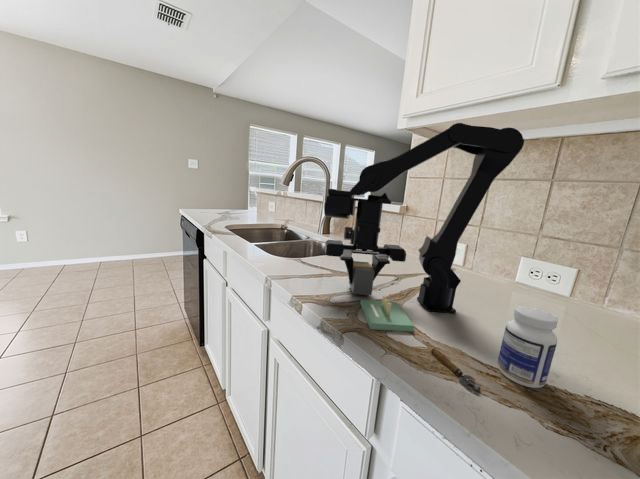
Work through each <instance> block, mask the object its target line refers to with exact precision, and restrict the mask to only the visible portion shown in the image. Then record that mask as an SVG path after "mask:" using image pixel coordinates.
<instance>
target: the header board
mask: <svg viewBox="0 0 640 479" xmlns="http://www.w3.org/2000/svg"><path fill="white" fill-rule="evenodd" d="M387 297H388V296H386V295H383V296H382V299H381V300H374V299H373V300H370V299H360V308H361V309H362V312H363V313H364V314H363V315H364V316H365V319H366V321H367V323H368V326H369V329H370V330H379V331H380V330H381V331H391V332H392V331H394V332H410V333H411V332H412V333H414V331H415V325H414V323H413V322H412V320H411V319H410V318H409V317H408V316H407V314H406V312H405V311H404V310H403V309H402V307H401V306H400V304H399V303H398V302H397V301H390V299H389V298H388V299H387Z"/></svg>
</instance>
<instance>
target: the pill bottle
mask: <svg viewBox="0 0 640 479" xmlns="http://www.w3.org/2000/svg"><path fill="white" fill-rule="evenodd" d="M512 315H513V317H514V318H512V319H510V320H509V321H507V323H506V324H505V329H504V333H503V337H502V341H501V344H500V351H499V354H498V358H497V361H496V362H497V363H496V365H497V368H498V370H499V371H500V373H502V375H503V376H504V377H506V378H508V379H509V380H510V381H512V382H514V383H516V384H518V385H521V386H524V387H527V388H532V389H540V388H543V387H544V386H545V385H546V383H547V381H548V376H549V373H550V370H551V366H552V363H553V360H554V359H553V358H554V355H555V353H556V348H557V344H558V337H557V335H556V334H555V332H554V330H556V329H557V326H558V322H559V319H558V317H557V316H555V315H554V314H552V313H550V312H548V311H545V310H542V309H539V308H535V307H531V306H526V305H519V306H515V308H514V309H513V314H512Z"/></svg>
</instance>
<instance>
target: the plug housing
mask: <svg viewBox="0 0 640 479" xmlns="http://www.w3.org/2000/svg"><path fill="white" fill-rule="evenodd" d="M374 272H375V271H374V269H373V267H372V263H370V262H369V261H356V260H353V280H352V284H350V282H349V281H348V285H349V287H350V290H351V293H352V295H365V296H372V294H373V293H372V292H373V286H374V281H375V279H374ZM373 280H374V281H373Z"/></svg>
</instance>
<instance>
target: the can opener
mask: <svg viewBox="0 0 640 479" xmlns="http://www.w3.org/2000/svg"><path fill="white" fill-rule="evenodd" d="M430 353H431V354H432V355H433V356H434V357H435V358H436V359H437V360H439V362H441V363H442V365H445V366H446V367H447V368H448V369H449V370H450V371H451V372H452V373H454V374H455V375H456V376H458V377H459V383H460V384H461V386H462V387H463V388H465V389H466V390H467V391H468V392H470V393H471V394H474V395H476V396H478V397H480V394H478V393H479V392H482V389H481V386H480V385H478V384H477V383H475V381H476V379H475V378H474V377H473V376H471V375H468V374H464V373H463V371H462V370H461V368H459V367H458V366H456V365H455V364H454V363H453V362H452V361H451V360H450V358H448V357H446V355H444V354H443V353H442V352H441V351H440V350H438V349H437V348H432V349H431V351H430ZM470 379H471V380H472V381H471V380H470ZM472 387H473V388H476V391H477V392H476V391H475V390H474V389H473V388H472Z"/></svg>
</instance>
